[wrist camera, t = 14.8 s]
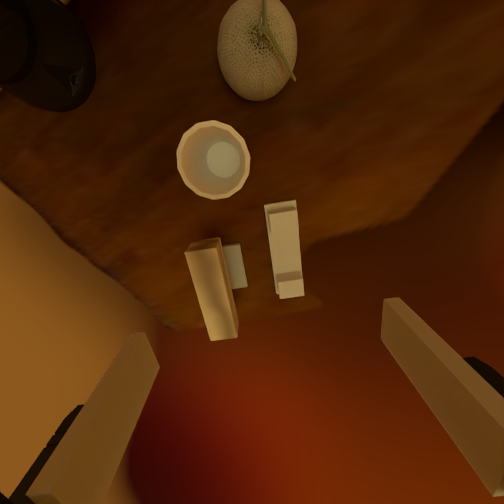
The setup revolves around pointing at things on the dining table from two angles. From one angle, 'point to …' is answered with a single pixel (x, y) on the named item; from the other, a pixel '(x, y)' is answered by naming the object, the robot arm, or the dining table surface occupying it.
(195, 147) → the foam cup
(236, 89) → the fruit
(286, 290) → the beige bracket
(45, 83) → the robot arm
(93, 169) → the dining table surface
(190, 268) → the bar
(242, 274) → the fulcrum
